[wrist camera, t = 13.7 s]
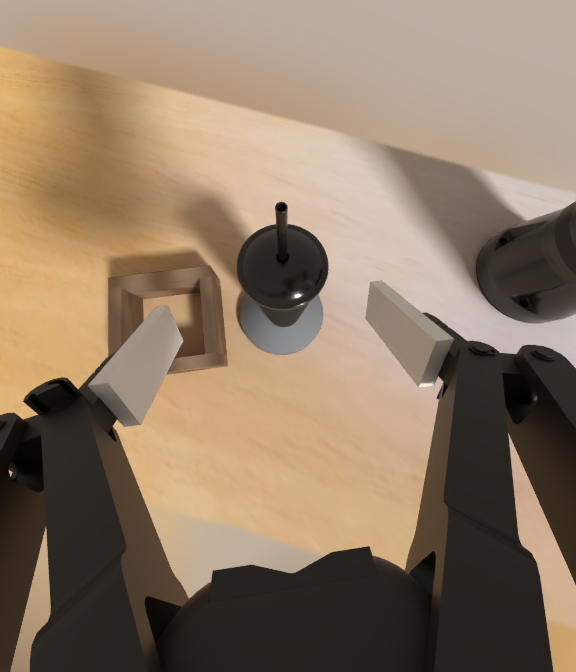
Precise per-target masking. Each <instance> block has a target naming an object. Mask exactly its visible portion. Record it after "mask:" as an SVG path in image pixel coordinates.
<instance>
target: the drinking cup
mask: <svg viewBox="0 0 576 672" xmlns="http://www.w3.org/2000/svg"><path fill="white" fill-rule="evenodd" d="M275 212H276V224H275V225H270V226H267V227H264V228H262V229H260V230H258V231H256V232H255V233H254V234H252V235H251V236H250V237H249V238H248V239H247V240H246V242H245V243H244V244H243V246H242V248H241V250H240V252H239V255H238V260H237V274H238V278H239V281H240V283H241V286H242V287H243V289H244V291H245V292H246V293H247V295H248V296H249V297H250V298H251V299H252V300H254V301H255V302H256V303H258V305H259V306H260V307H261V309H262V310H263V311H264V313H265V314H266V316H267V317H268V318H269V320H270V321H271V322H272V323H273V324H274V325H276V326H279V327H289V326H291V325H293V324H294V323H296V321H297V320H298V319H299V317H300V316H301V314H302V313H303V311H304V310H305V308H306V307H307V305H308V304H309V302H311V301H312V300H313V299H314V298H315V297H316V296H317V295H318V294H319V293H320V291H321V290H322V288H323V286H324V284H325V282H326V279H327V275H328V258H327V255H326V252H325V250H324V248H323V246H322V244H321V243H320V241H319V240H318V239H317V238H316V237H315V236H314V235H313V234H311V233H310V232H309V231H307V230H305V229H303V228H301V227H298V226H295V225H290V224H287V214H288V207H287V204H286V203H284V202H279V203H277V204H276V206H275Z"/></svg>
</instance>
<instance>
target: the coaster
mask: <svg viewBox="0 0 576 672" xmlns="http://www.w3.org/2000/svg"><path fill="white" fill-rule="evenodd" d="M322 320H323V307H322V303H321V300H320V298H319V296H318V295H317V296H316V297H315V298H314V299H313V300H312V301H311V302H309V304H308V305H307V307H306V308H305V310H304V311H303V313H302V314H301V316H300V317H299V319H298V320H297V321H296V323H294V324H293V325H291V326H289V327H279V326H276V325H274V324H273V323H272V322H271V321H270V320H269V318H268V317H267V316H266V314H265V313H264V311H263V310H262V309H261V307H260V306H259V305H258V303H256V302H255V301H254V300H252V299H251V298H250V297H249V296H248V295H247V293H245V295H244V297H243V299H242V302H241V306H240V322H241V326H242V329H243V331H244V333H245V335H246V336H247V338H248V339H249V340H250V341H251V342H252V343H253V344H254V345H255V346H256V347H258V348H259V349H261V350H263V351H265V352H268V353H271V354H277V355H286V354H292V353H295V352H298V351H300V350H302V349H303V348H305V347H306V346H308V345H309V344H310V343H311V342H312V341H313V339H314V338H315V337H316V335H317V334H318V332H319V330H320V328H321V325H322Z"/></svg>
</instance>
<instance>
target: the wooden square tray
mask: <svg viewBox="0 0 576 672" xmlns="http://www.w3.org/2000/svg"><path fill="white" fill-rule="evenodd" d="M196 292H200V294H201V308H202V321H203V334H204V348H205V354H203V355H195V356H188V357H180V358H174V360H173V362H172V364H171V366H170V368H169V370H168V372H167V374H175V373H182V372H189V371H196V370H204V369H211V368H218V367H225V366H228V362H227V351H226V340H225V329H224V319H223V308H222V297H221V286H220V279H219V278H218V276H217V275H216V274H215V272H214V271H213V269H212V268H211V266H202V267H194V268H186V269H177V270H169V271H161V272H153V273H144V274H136V275H128V276H119V277H111V278H109V356H110V355H112V354H113V353H114V352H116V351H118V350H119V349H120V348H121V347H122V345H123V344H124V343H125V342H126V341H127V340H128V339H129V337H130V336H131V335H132V334H133V333H134V332H135V331H136V329H137V328H138V327H139V326H140V325H141V324H142V322H143V299H148V298H156V297H164V296H172V295H180V294H188V293H196ZM167 374H166V375H167Z"/></svg>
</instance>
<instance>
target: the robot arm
mask: <svg viewBox="0 0 576 672" xmlns="http://www.w3.org/2000/svg"><path fill="white" fill-rule="evenodd" d="M477 277H478V281H479V284H480V287H481V289H482V291H483V293H484V294H485V296H486V297H487V299H488V300H489V301H490V302H491V303H492V305H493V306H494V307H496V308H497V309H498V310H499V311H501V312H502V313H503V314H505V315H507V316H508V317H511V318H513V319H515V320H518V321H521V322H526V323H545V322H550V321H554V320H559V319H563V318H567V317H569V316H572V315H574V314H576V202H574V203H572V204H571V205H569V206H567V207H566V208H564V209H561V210H558V211H555V212H552V213H549V214H546V215H543V216H540V217H537V218H534V219H531V220H528V221H525V222H523V223H520V224H517V225H514V226H512V227H510V228H508V229H506V230H504V231H502V232H501V233H499V234H498V235H496V236H495V237H493V238H492V239H490V240H489V241H488V242H487V243H486V244H485V245H484V247H483V248H482V250H481V252H480V254H479V257H478V260H477ZM365 319H366V320H367V321H368V322H369V324H370V325H371V326H372V328H373V329H374V330H375V331H376V333H377V334H378V335H379V337H380V338H381V339H382V341H383V342H384V343H385V344H386V346H387V347H388V348H389V350H390V351H391V352H392V354H393V355H394V356H395V357H396V359H397V360H398V361H399V363H400V364H401V365H402V366H403V368H404V369H405V370H406V372H407V373H408V374H409V376H410V377H411V378H412V379H413V381H414V382H415V383H416V385H417V386H418V387H425V386H433V385H435V382H436V380H437V378H438V376H439V377H440V378H441V379H442V381H443V382H444V383H443V385H442V387H441V389H440V391H439V394H438V396H437V399H439V403H438V409H437V414H436V420H435V426H434V431H433V437H432V443H431V448H430V454H429V459H428V465H427V471H426V476H425V482H424V487H423V493H422V499H421V504H420V510H419V516H418V521H417V527H416V532H415V536H414V539H413V542H412V545H411V547H410V551H409V554H408V559H407V563H406V568H405V571H404V570H403V569H402V568H400V567H399V566H397V565H395V564H393V563H391V562H389V561H387V560H385V559H382V558H379V557H376V556H372V553H371V550H370V547H362V548H356V549H349V550H343V551H337V552H331V553H330V554H328V555H326V556H324V557H322V558H321V559H319V560H317V561H315V562H314V563H312V564H310V565H308V566H307V567H305V568H303V569H301V570H300V571H298V572H296V573H286V572H282V571H277V570H273V569H268V568H264V567H259V566H255V565H247V566H241V567H235V568H228V569H222V570H215V571H213V574H212V581H211V582H210V583H208V584H207V585H205V586H204V587H203V588H201V589H200V590H199V591H197V592H196V593H195V594H194V595H193V596H192V597H191V598H190V599H189V598H188V596H187V594H186V592H185V590H184V588H183V586H182V585H181V583H180V582H179V581H178V579H177V578H176V577H175V575H174V573H173V572H172V570H171V567H170V565H169V562H168V560H167V557H166V555H165V552H164V550H163V547H162V545H161V542H160V539H159V537H158V534H157V532H156V529H155V527H154V525H153V522H152V519H151V517H150V514H149V512H148V509H147V507H146V504H145V502H144V499H143V497H142V494H141V492H140V489H139V486H138V484H137V481H136V479H135V476H134V474H133V471H132V469H131V466H130V464H129V461H128V459H127V456H126V454H125V451H124V449H123V446H122V444H121V441H120V439H119V436H118V434H117V431H116V430H115V429H114V428H113V427H112V426H113V425H114V423H115V422H116V420H117V419H118V421H119V422H120V423H121V424H122V425H123V426H124V427H126V426H134V425H141V423H142V421H143V419H144V417H145V415H146V413H147V411H148V409H149V408H150V406H151V404H152V402H153V400H154V398H155V396H156V394H157V392H158V390H159V388H160V386H161V384H162V382H163V380H164V378H165V376H166V374H167V372H168V370H169V368H170V366H171V364H172V362H173V360H174V358H175V356H176V354H177V352H178V350H179V348H180V346H181V344H182V342H183V339H182V337H181V334H180V332H179V330H178V327H177V325H176V323H175V321H174V318H173V316H172V314H171V312H170V309H169V307H168V306H162V307H155V309H154V310H153V311H152V312H151V313H150V314H149V316H148V317H147V318H146V319H145V320H144V321H143V322H142V324H141V325H140V326H139V327H138V328H137V329H136V331H135V332H134V333H133V334H132V335H131V336H130V337H129V339H128V340H127V341H126V342H125V343H124V344H123V345H122V347H121V348H120V349H119V350H118V351H116V352H114V353H113V354H112V355H110V356H109V357H107V358H106V359H105V360H104V361H103V363H102V364H101V365H100V367H98V368H97V369H96V370H95V373H93V374H92V375H91V376H90V377H89V378H88V379H87V380H86V382H85V383H84V384H83V385H82V386H81V387H80V388H79V389H77V388H76V387H75V386H74V385H73V384H72V383H71V381H70V380H69V379H68V378H57V379H53V380H50V381H48V382H45V383H43V384H41V385H40V386H38V387H36V388H35V389H33V390H32V391H31V392H29V394H28V395H27V396H26V397H25V398H24V401H23V402H24V403H26V404H27V405H28V406H29V407H30V408H31V409H33V410H34V411H35V412H36V413H37V414H39V415H36V416H33V417H30V418H27V419H24V420H23V419H22V418H21V417H19V416H18V415H17V414H15V413H6V414H3V415H0V672H10V669H11V665H12V661H13V657H14V653H15V649H16V645H17V641H18V637H19V633H20V628H21V625H22V621H23V617H24V613H25V609H26V604H27V600H28V596H29V592H30V588H31V584H32V580H33V576H34V571H35V568H36V564H37V560H38V555H39V551H40V547H41V543H42V539H43V535H44V531H45V527H46V529H47V546H48V562H49V563H48V564H49V582H50V598H51V599H50V600H51V614H50V618H49V620H48V622H47V623H46V624H45V625H44V626H43V627H42V628H41V629H40V630H39V631H38V632H37V634H36V636H35V639H34V641H33V644H32V648H31V657H30V672H553V666H552V659H551V651H550V645H549V637H548V630H547V623H546V616H545V609H544V602H543V595H542V588H541V581H540V575H539V571H538V567H537V563H536V561H535V559H534V557H533V555H532V553H530V552H529V551H528V550H527V549H526V548H524V547H523V546H522V545H521V542H520V540H519V536H518V528H517V517H516V507H515V497H514V487H513V477H512V467H511V457H510V447H509V437H508V433H509V435H510V437H511V439H512V442H513V444H514V446H515V448H516V451H517V453H518V455H519V457H520V460H521V462H522V464H523V466H524V469H525V471H526V473H527V476H528V478H529V480H530V482H531V485H532V487H533V489H534V491H535V494H536V496H537V498H538V500H539V503H540V505H541V507H542V509H543V512H544V514H545V516H546V519H547V521H548V523H549V525H550V528H551V530H552V532H553V534H554V537H555V539H556V541H557V543H558V546H559V548H560V550H561V552H562V555H563V557H564V559H565V561H566V564H567V566H568V568H569V571H570V573H571V575H572V577H573V580H574V582H575V584H576V368H575V367H574V366H573V365H572V364H571V363H570V362H569V361H568V360H567V359H566V358H565V357H564V356H563V355H561V354H560V353H558V352H556V351H554V350H553V349H550V348H547V347H544V346H537V345H525V346H522V347H521V348H520V350H519V351H518V353H517V354H507V353H499V351H497V350H496V349H495V348H494V347H492V346H490V345H488V344H485V343H482V342H476V341H466V340H465V339H464V338H462V337H461V336H460V335H459V334H457V333H456V332H455V331H453V330H452V329H451V328H448V326H447V325H445V324H444V323H442V321H440V320H439V319H438V318H436V317H435V316H432V315H430V314H428V313H421V312H420V311H419V310H418V309H416V308H415V307H414V306H413V305H411V304H410V303H409V302H408V301H406V300H405V299H404V298H403V297H401V296H400V295H399V294H398V293H397V292H395V291H394V290H393V289H392V288H390V287H389V286H388V285H387V284H385V283H384V282H383V281H375V282H370V288H369V295H368V303H367V310H366V317H365ZM9 470H10V471H12V472H13V473H12V475H11V477H10V474H9Z"/></svg>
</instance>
